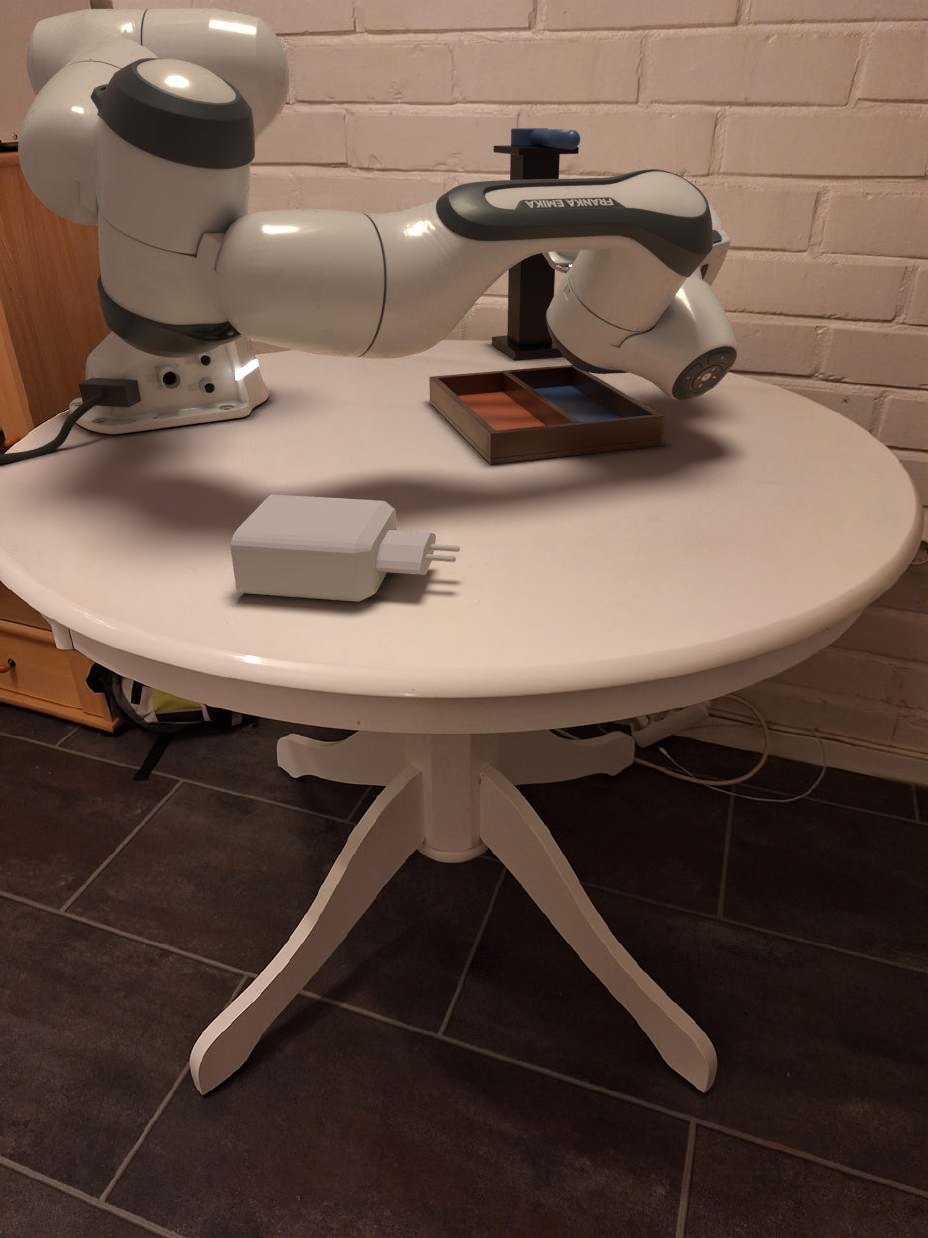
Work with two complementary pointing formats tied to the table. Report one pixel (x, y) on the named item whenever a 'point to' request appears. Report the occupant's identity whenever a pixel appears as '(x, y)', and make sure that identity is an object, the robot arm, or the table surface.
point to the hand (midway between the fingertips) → (604, 187)
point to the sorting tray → (543, 413)
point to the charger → (326, 548)
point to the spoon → (545, 137)
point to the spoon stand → (530, 268)
